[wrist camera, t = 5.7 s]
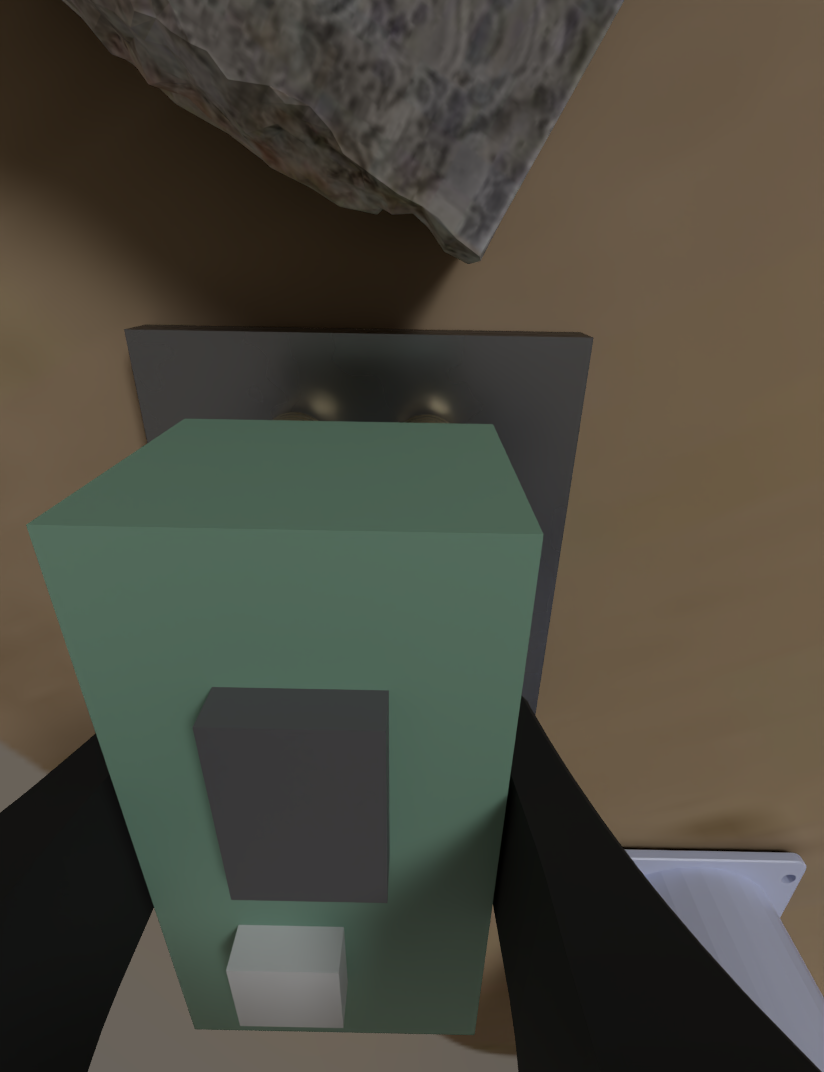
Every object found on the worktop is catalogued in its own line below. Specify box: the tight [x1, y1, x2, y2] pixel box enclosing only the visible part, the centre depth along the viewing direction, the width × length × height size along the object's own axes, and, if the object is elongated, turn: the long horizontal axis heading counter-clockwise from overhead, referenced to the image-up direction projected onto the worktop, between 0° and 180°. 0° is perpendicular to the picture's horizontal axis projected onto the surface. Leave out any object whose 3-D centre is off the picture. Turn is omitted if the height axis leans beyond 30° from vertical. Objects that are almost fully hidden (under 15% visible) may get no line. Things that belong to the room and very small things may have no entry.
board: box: [26, 419, 544, 1035], centre depth 9 cm, size 10×5×5 cm, turn 179°
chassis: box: [124, 325, 593, 714], centre depth 13 cm, size 12×10×4 cm
